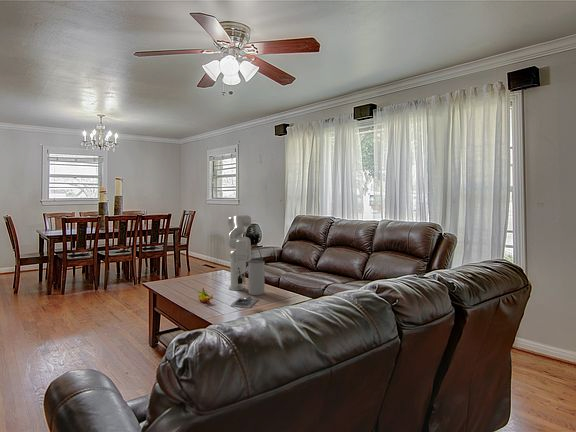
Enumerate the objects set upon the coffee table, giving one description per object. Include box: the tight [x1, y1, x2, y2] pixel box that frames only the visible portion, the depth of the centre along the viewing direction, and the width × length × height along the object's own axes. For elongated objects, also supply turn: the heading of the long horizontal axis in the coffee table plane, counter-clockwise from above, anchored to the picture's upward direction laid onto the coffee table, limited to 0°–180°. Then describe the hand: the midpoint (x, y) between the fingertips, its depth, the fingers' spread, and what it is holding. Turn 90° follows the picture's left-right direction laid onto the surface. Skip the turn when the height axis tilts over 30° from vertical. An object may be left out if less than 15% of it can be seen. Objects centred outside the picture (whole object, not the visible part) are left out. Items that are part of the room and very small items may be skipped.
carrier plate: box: [230, 296, 259, 309], centre depth 267 cm, size 20×14×2 cm
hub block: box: [237, 275, 246, 286], centre depth 262 cm, size 5×5×5 cm
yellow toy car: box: [197, 287, 214, 305], centre depth 269 cm, size 6×18×10 cm, turn 36°
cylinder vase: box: [248, 260, 266, 296], centre depth 291 cm, size 12×12×25 cm
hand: (241, 282), depth 263 cm, fingers closed on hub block, 4 cm apart
